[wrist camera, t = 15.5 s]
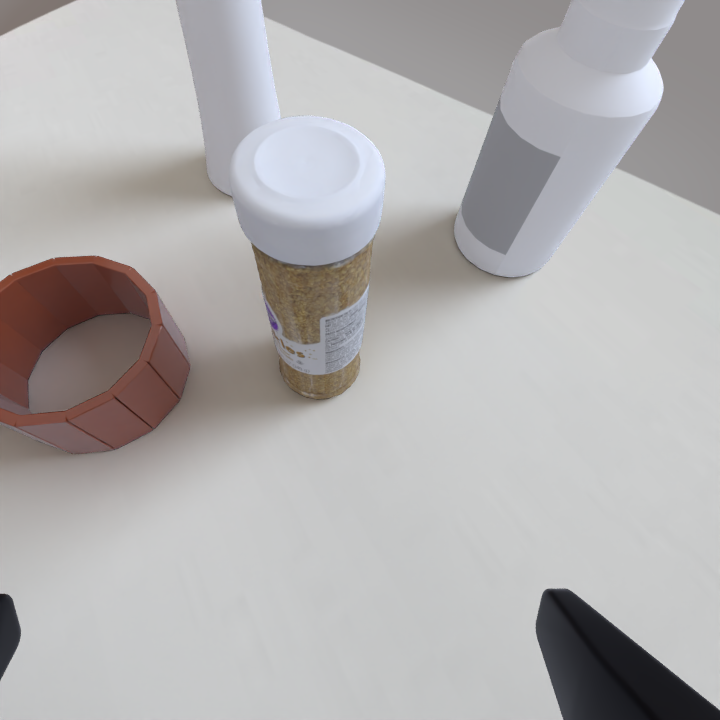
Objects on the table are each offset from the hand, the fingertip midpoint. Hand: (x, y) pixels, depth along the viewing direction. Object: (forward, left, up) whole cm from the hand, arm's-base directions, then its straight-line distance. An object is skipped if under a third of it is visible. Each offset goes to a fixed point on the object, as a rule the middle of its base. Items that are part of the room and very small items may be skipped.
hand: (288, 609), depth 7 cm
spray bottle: (+24, 0, -13) cm, 28 cm away
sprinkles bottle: (+10, +5, -13) cm, 17 cm away
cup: (+2, +16, -13) cm, 21 cm away
